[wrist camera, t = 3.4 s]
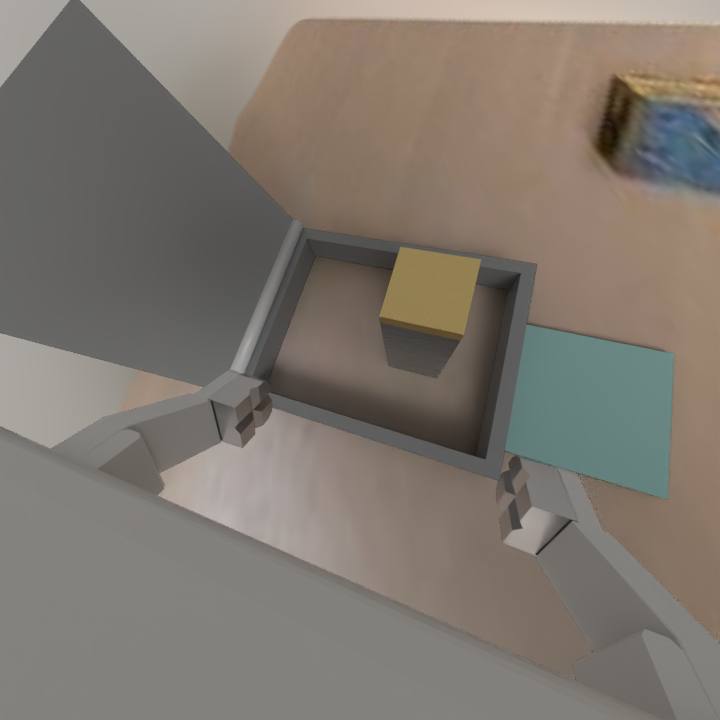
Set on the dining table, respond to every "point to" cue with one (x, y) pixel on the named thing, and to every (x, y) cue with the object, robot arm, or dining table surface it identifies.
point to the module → (426, 309)
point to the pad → (594, 408)
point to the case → (175, 237)
